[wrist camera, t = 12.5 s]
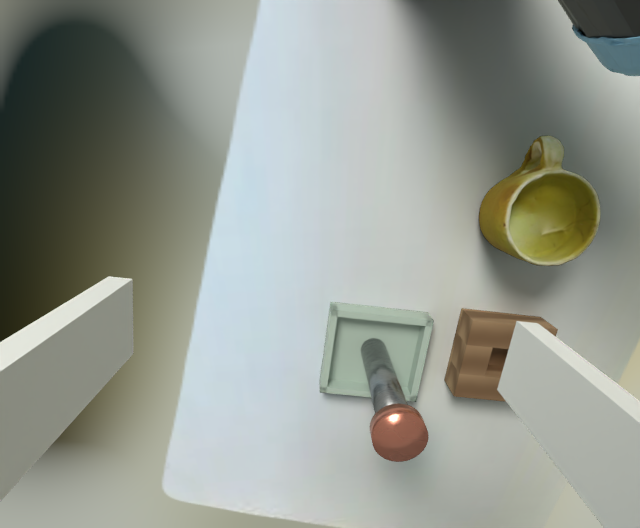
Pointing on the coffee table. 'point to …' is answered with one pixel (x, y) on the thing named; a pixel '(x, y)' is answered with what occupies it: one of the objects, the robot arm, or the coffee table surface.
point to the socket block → (483, 352)
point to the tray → (365, 323)
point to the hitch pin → (391, 408)
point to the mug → (541, 209)
